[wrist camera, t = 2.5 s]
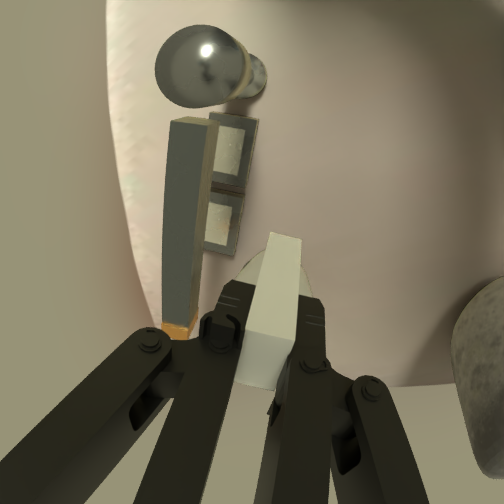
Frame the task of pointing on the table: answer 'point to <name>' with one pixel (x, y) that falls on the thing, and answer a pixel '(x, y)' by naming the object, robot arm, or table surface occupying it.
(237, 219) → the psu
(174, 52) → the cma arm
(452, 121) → the table surface
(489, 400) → the vase
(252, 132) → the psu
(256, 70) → the post
